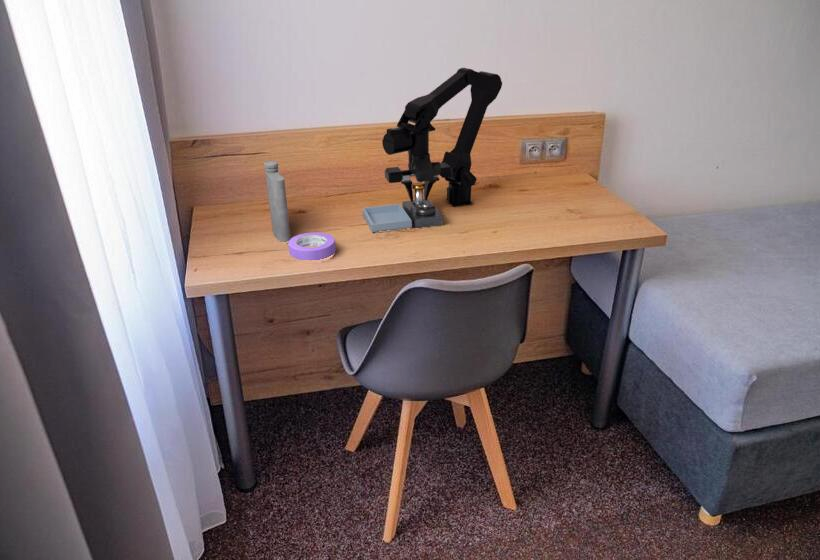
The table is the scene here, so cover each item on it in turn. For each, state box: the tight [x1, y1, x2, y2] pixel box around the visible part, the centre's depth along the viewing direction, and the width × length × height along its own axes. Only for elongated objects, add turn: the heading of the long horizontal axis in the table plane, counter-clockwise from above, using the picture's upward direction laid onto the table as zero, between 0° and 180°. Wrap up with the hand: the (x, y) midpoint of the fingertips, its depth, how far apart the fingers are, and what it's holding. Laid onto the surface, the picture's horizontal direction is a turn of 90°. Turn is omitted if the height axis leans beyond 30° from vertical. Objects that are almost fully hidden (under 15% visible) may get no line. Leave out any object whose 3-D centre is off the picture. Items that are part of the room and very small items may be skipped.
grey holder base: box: [401, 198, 444, 229], centre depth 180 cm, size 8×14×5 cm, turn 15°
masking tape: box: [287, 231, 336, 261], centre depth 160 cm, size 12×12×4 cm
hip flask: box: [263, 160, 292, 242], centre depth 168 cm, size 16×4×20 cm, turn 18°
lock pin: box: [412, 182, 425, 207], centre depth 182 cm, size 4×4×9 cm
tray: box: [362, 203, 413, 233], centre depth 178 cm, size 11×13×2 cm
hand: (418, 200), depth 182 cm, fingers open, 4 cm apart
